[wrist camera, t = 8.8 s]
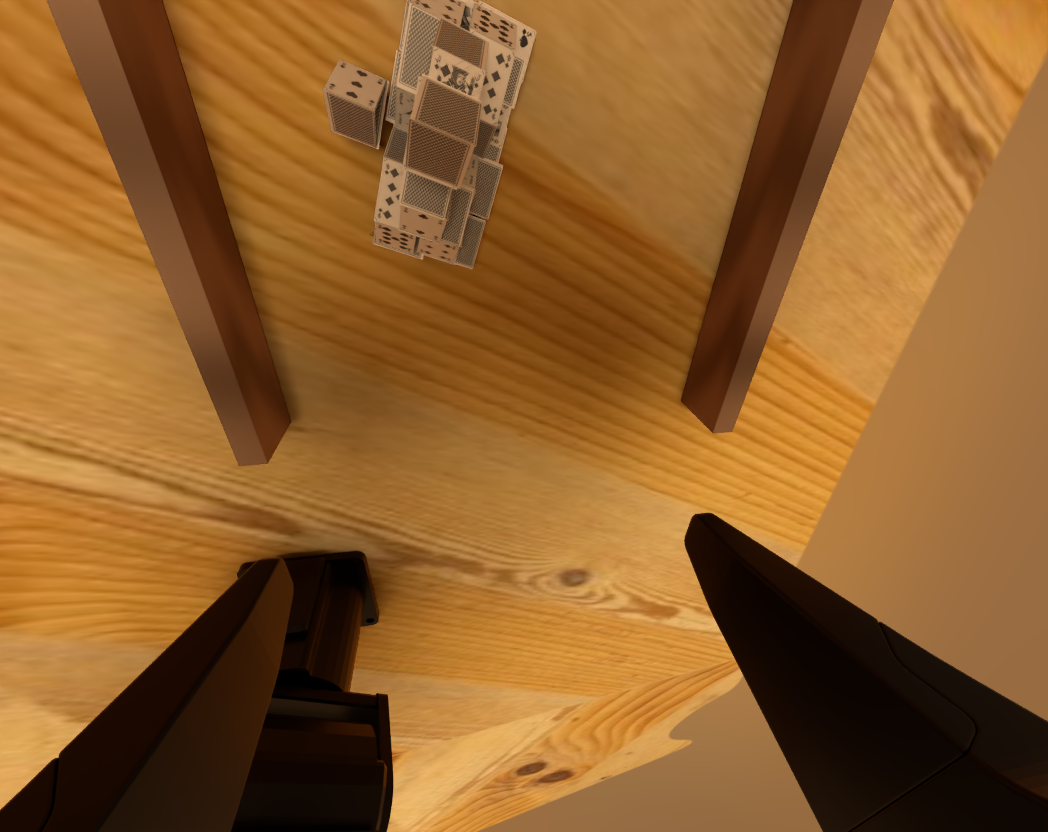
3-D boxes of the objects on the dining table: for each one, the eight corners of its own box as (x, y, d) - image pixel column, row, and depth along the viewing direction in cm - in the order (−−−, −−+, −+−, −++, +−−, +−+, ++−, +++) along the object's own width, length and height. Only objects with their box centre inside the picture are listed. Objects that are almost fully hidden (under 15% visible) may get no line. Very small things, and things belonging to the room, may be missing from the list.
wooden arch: (698, 400, 22) (732, 431, 19) (266, 423, 18) (239, 465, 16) (894, -238, 11) (1025, -352, 9) (-45, -480, 8) (-282, -792, 5)
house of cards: (219, -225, 10) (-204, -962, 3) (552, -24, 12) (672, -215, 6) (221, 187, 14) (32, 213, 7) (471, 268, 17) (491, 338, 10)
